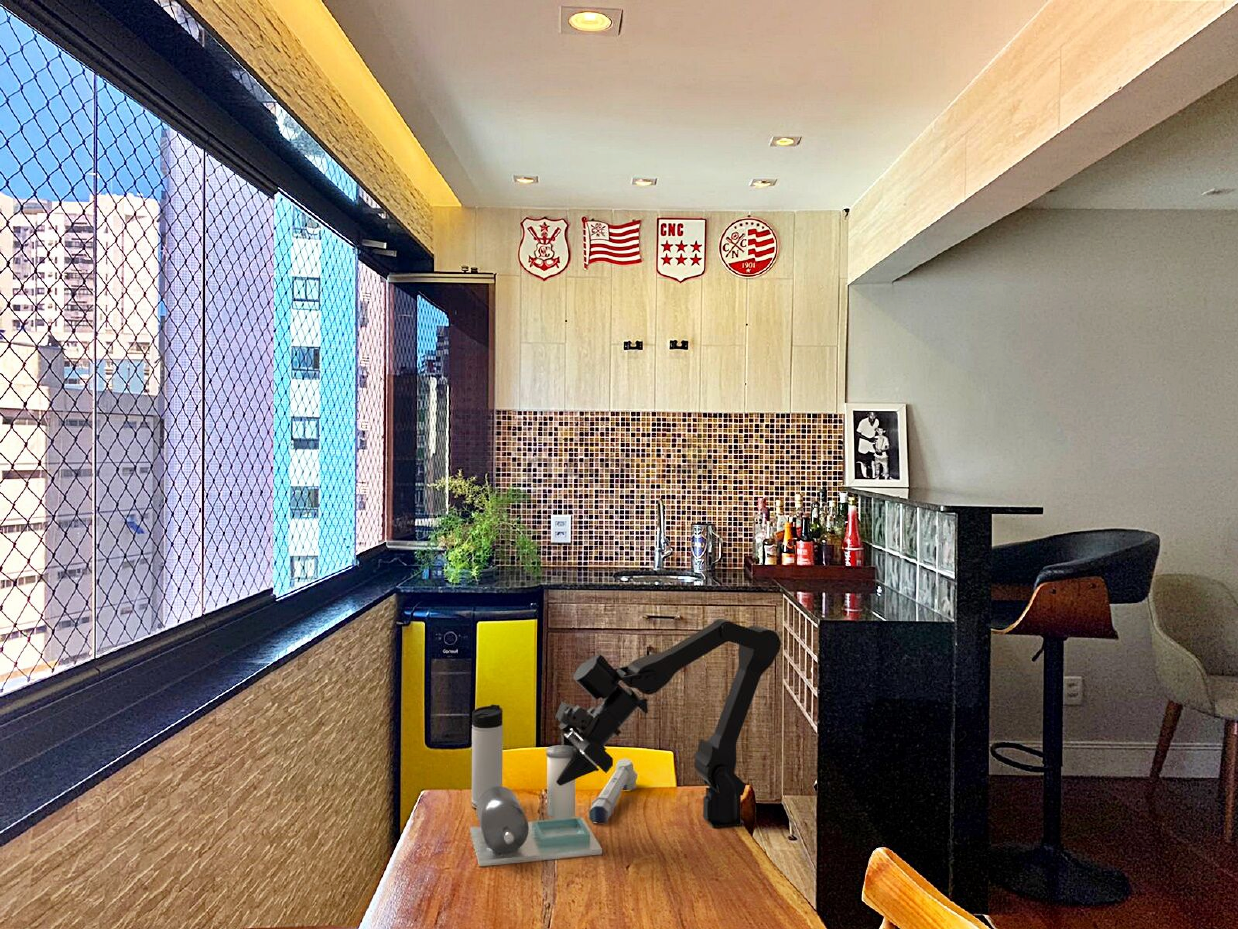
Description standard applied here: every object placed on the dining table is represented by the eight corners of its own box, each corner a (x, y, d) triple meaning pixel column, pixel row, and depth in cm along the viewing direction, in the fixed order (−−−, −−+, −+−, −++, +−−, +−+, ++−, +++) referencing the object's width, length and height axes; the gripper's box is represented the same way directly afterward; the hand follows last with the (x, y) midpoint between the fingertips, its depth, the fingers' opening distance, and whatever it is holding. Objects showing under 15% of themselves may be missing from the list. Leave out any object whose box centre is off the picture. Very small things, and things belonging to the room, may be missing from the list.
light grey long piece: (584, 804, 186) (616, 750, 210) (586, 836, 187) (617, 779, 211) (610, 807, 185) (639, 752, 209) (611, 839, 185) (640, 781, 210)
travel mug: (508, 802, 197) (509, 706, 197) (491, 813, 191) (492, 713, 191) (483, 798, 200) (483, 703, 200) (465, 808, 194) (466, 710, 194)
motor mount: (582, 822, 186) (583, 776, 186) (604, 858, 169) (604, 808, 169) (469, 832, 181) (470, 785, 181) (480, 871, 163) (480, 819, 163)
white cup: (580, 810, 179) (580, 746, 179) (570, 821, 174) (570, 755, 174) (552, 807, 181) (552, 744, 181) (541, 817, 175) (541, 752, 175)
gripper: (568, 676, 187) (513, 738, 184) (596, 698, 170) (535, 766, 166) (607, 713, 190) (553, 774, 186) (637, 738, 172) (579, 806, 168)
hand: (554, 779), depth 177 cm, fingers closed on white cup, 5 cm apart
